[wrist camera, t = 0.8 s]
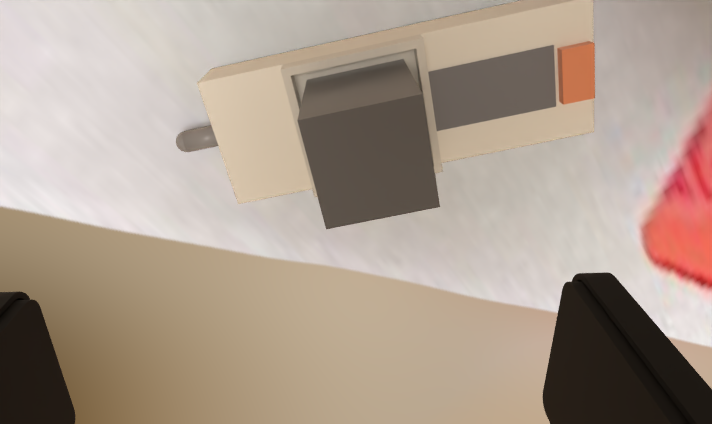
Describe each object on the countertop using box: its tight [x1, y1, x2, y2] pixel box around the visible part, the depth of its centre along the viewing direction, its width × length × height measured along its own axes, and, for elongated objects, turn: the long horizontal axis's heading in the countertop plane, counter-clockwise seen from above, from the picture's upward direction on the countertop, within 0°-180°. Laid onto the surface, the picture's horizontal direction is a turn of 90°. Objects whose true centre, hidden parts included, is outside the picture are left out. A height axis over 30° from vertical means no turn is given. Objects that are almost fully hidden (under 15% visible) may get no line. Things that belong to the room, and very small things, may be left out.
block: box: [297, 59, 440, 229], centre depth 25 cm, size 5×5×7 cm
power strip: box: [176, 0, 595, 204], centre depth 29 cm, size 23×7×5 cm, turn 102°
